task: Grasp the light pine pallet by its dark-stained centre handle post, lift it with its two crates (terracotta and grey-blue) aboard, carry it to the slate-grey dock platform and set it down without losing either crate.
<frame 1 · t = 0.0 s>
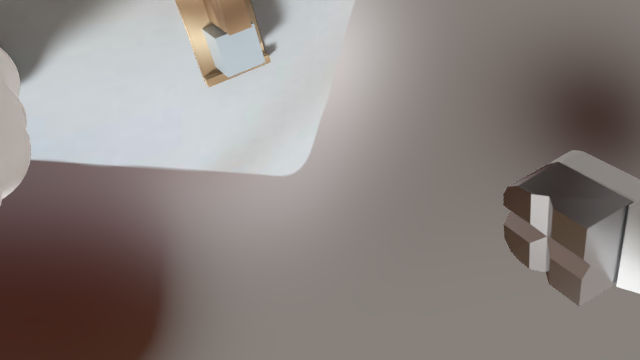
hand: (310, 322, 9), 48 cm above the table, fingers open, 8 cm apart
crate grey: (227, 40, 56), resting on pallet
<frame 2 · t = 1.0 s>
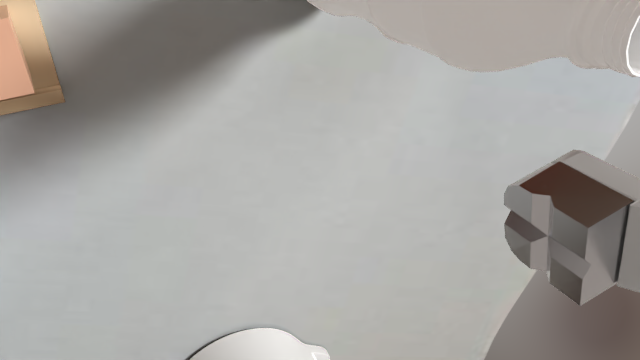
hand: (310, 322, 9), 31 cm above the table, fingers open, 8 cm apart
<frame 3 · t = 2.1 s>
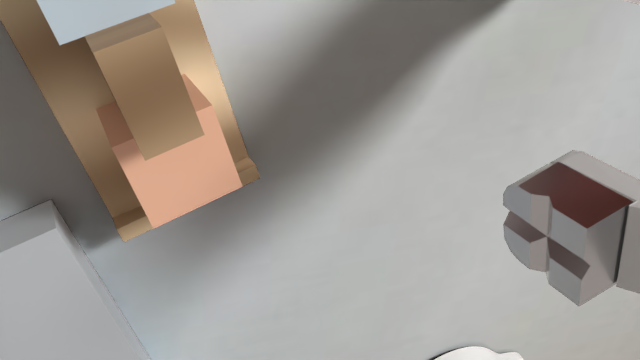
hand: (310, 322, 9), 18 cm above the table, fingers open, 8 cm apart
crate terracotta: (158, 130, 25), point 1 cm above the table, touching pallet
pallet: (115, 40, 24), on the table, touching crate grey, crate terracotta
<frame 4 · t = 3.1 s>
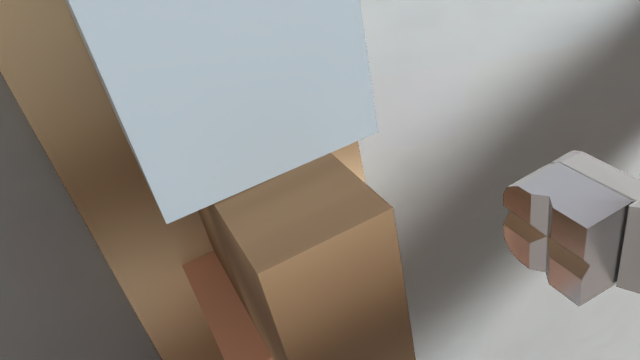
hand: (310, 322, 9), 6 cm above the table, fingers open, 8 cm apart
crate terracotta: (270, 284, 16), point 1 cm above the table, touching pallet
pallet: (216, 151, 15), on the table, touching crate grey, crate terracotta
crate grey: (180, 11, 11), point 1 cm above the table, touching pallet
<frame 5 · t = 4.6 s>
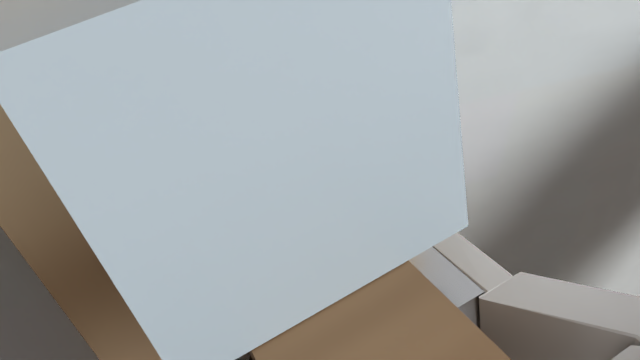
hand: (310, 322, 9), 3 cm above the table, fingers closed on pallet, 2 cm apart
pallet: (234, 214, 12), on the table, touching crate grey, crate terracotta, gripper
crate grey: (184, 56, 9), point 1 cm above the table, touching pallet
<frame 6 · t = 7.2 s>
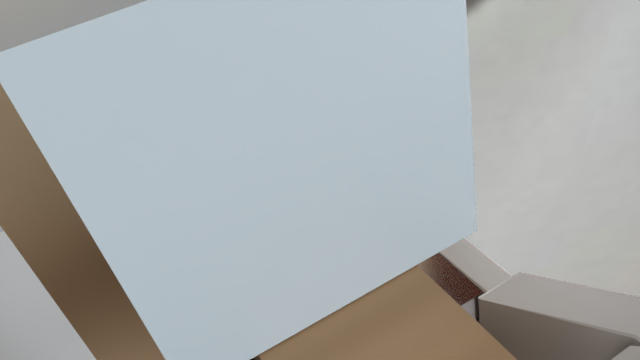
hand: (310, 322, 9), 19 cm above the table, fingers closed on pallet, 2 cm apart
pallet: (236, 216, 12), point 15 cm above the table, touching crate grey, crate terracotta, gripper
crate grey: (190, 56, 9), point 17 cm above the table, touching pallet
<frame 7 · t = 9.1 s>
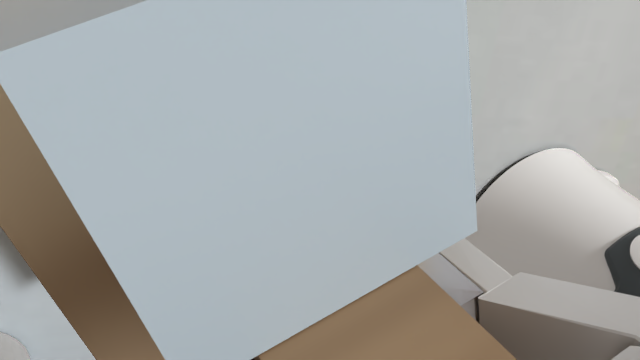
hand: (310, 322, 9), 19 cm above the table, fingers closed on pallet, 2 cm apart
pallet: (236, 216, 12), point 15 cm above the table, touching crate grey, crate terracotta, gripper
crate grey: (190, 56, 9), point 17 cm above the table, touching pallet
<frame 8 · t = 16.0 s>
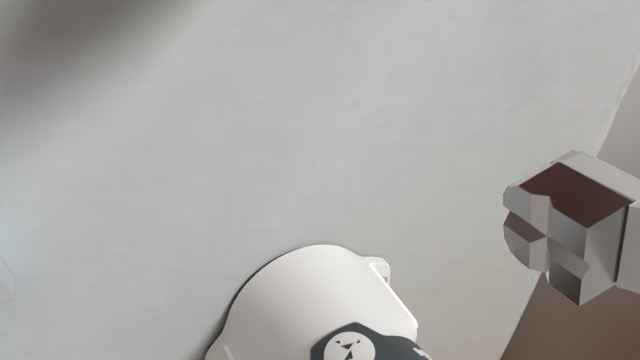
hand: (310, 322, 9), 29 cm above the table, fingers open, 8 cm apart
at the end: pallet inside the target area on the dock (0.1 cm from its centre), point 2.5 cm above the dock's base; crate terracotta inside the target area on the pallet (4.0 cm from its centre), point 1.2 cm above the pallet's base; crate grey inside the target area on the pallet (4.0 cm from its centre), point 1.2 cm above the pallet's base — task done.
